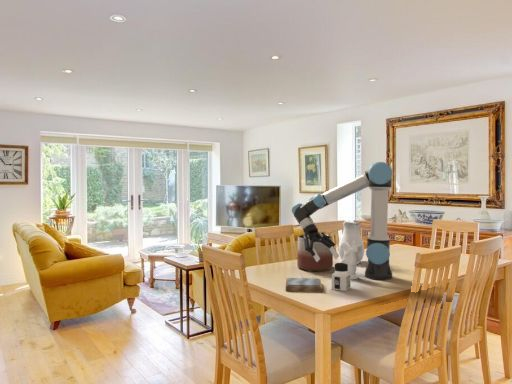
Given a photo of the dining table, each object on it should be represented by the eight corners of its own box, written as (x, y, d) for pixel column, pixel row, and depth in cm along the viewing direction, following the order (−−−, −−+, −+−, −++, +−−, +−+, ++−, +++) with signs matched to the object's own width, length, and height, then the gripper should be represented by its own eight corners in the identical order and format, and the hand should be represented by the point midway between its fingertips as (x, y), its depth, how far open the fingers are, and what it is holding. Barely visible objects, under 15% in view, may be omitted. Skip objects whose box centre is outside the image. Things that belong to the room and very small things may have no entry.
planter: (291, 269, 245) (291, 237, 244) (304, 263, 264) (304, 233, 264) (326, 273, 234) (326, 239, 234) (337, 266, 254) (337, 235, 253)
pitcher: (367, 264, 259) (367, 222, 258) (341, 264, 259) (341, 222, 258) (358, 257, 282) (358, 218, 282) (334, 257, 283) (334, 218, 282)
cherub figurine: (337, 276, 228) (337, 238, 227) (355, 274, 232) (355, 237, 232) (349, 281, 216) (349, 240, 216) (368, 279, 221) (368, 239, 220)
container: (346, 291, 196) (346, 265, 196) (331, 289, 200) (331, 263, 200) (350, 287, 203) (350, 262, 203) (336, 285, 207) (336, 261, 206)
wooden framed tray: (320, 283, 211) (320, 278, 211) (322, 291, 196) (322, 285, 195) (286, 282, 213) (286, 277, 213) (285, 291, 197) (285, 285, 197)
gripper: (322, 230, 229) (341, 260, 217) (288, 233, 216) (306, 265, 204) (328, 222, 225) (348, 252, 213) (294, 224, 211) (313, 257, 199)
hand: (327, 259), depth 208 cm, fingers open, 13 cm apart
